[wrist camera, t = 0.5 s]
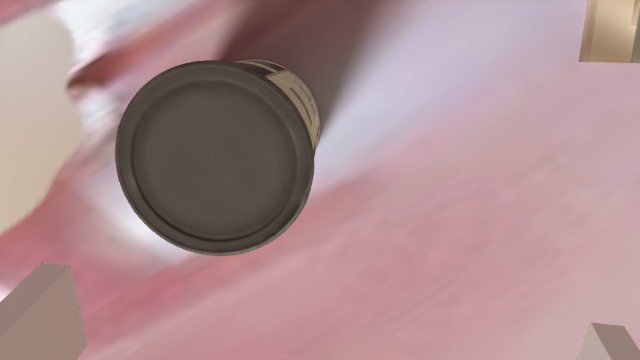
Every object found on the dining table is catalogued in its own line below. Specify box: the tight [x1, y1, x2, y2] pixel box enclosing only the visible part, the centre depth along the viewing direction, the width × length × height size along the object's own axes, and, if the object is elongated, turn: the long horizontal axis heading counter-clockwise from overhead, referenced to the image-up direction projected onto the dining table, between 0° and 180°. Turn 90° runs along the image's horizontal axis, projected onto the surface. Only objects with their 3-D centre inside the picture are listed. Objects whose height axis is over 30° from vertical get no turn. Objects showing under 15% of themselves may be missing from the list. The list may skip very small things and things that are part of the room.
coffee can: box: [115, 59, 320, 256], centre depth 32 cm, size 10×10×14 cm
